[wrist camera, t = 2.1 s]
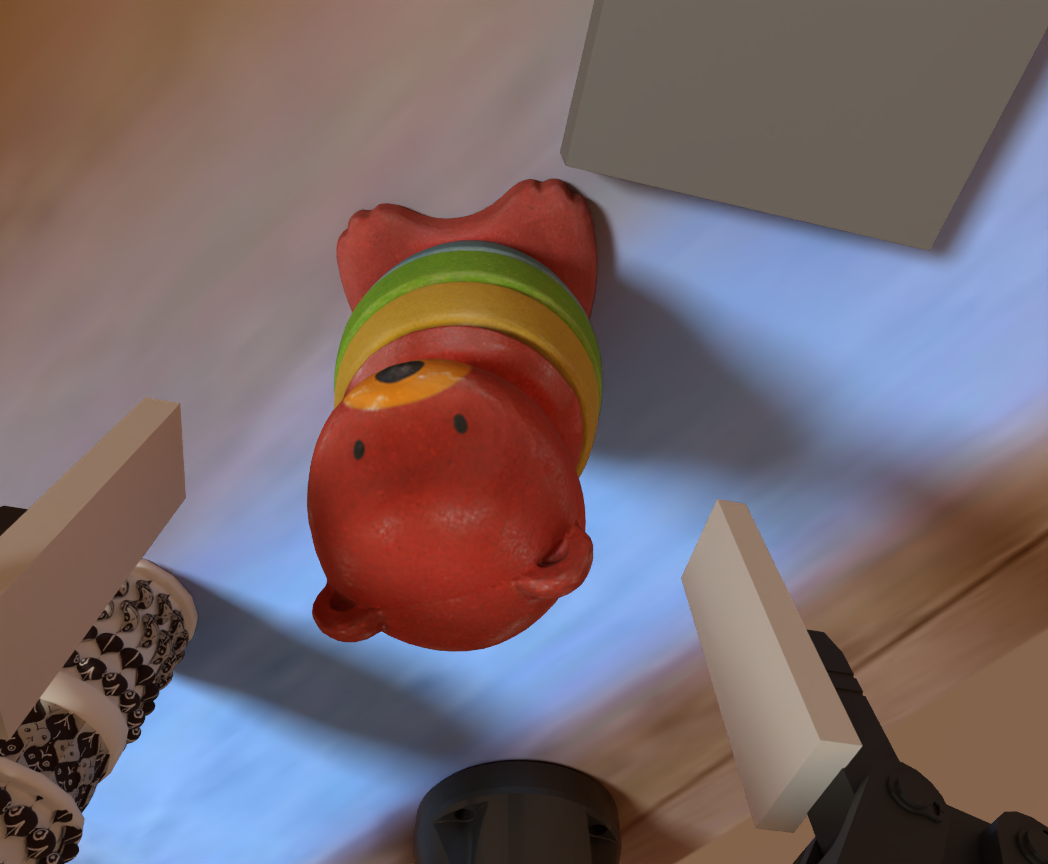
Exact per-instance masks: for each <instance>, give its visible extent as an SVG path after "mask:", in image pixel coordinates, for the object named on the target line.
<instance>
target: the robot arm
mask: <svg viewBox="0 0 1048 864" xmlns="http://www.w3.org/2000/svg"><path fill="white" fill-rule="evenodd" d="M185 498H186V493H185V476H184V460H183V444H182V428H181V412H180V403H174V402H169V401H163V400H157V399H152V398H146V397H145V398H144V399H143V400H142V401H141V402H140V403H139V404H138V405H137V406H136V407H135V408H134V409H133V410H132V411H131V412H130V413H129V414H127V415H126V416H125V417H124V418H123V419H122V420H121V421H120V422H119V423H118V424H117V425H116V426H115V427H114V428H113V429H112V430H111V431H110V432H109V433H108V434H107V435H106V436H104V437H103V438H102V439H101V440H100V441H99V442H98V443H97V444H96V445H95V446H94V447H93V448H92V449H91V450H90V451H89V452H88V453H87V454H86V455H85V456H84V457H83V458H82V459H80V460H79V461H78V462H77V463H76V464H75V465H74V466H73V467H72V468H71V469H70V470H69V471H68V472H67V473H66V474H65V475H64V476H63V477H62V478H61V479H60V480H59V481H57V482H56V483H55V484H54V485H53V486H52V487H51V488H50V489H49V490H48V491H47V492H46V493H45V494H44V495H43V496H42V497H41V498H40V499H39V500H38V501H37V502H36V503H34V504H33V505H32V506H31V507H30V508H29V509H22V508H15V507H9V506H2V507H0V739H4V740H10V738H11V737H12V736H13V734H14V733H15V731H16V730H17V729H18V727H19V726H20V725H21V723H22V722H23V720H24V719H25V718H26V716H27V715H28V714H29V712H30V711H31V709H32V708H33V707H34V705H35V704H36V703H37V701H38V700H39V698H40V697H41V696H42V694H43V693H44V692H45V690H46V689H47V687H48V686H49V685H50V683H51V682H52V681H53V679H54V678H55V676H56V675H57V674H58V672H59V671H60V670H61V668H62V667H63V666H64V664H65V663H66V661H67V660H68V659H69V657H70V656H71V655H72V653H73V652H74V650H75V649H76V648H77V646H78V645H79V644H80V642H81V641H82V639H83V638H84V637H85V635H86V634H87V633H88V631H89V630H90V628H91V627H92V626H93V624H94V623H95V622H96V620H97V619H98V617H99V616H100V615H101V613H102V612H103V611H104V609H105V608H106V606H107V605H108V604H109V602H110V601H111V600H112V598H113V597H114V596H115V594H116V593H117V591H118V590H119V589H120V587H121V586H122V585H123V583H124V582H125V580H126V579H127V578H128V576H129V575H130V574H131V572H132V571H133V569H134V568H135V567H136V565H137V564H138V563H139V561H140V560H141V558H142V557H143V556H144V554H145V553H146V552H147V550H148V549H149V547H150V546H151V545H152V543H153V542H154V541H155V539H156V538H157V536H158V535H159V534H160V532H161V531H162V530H163V528H164V527H165V526H166V524H167V523H168V521H169V520H170V519H171V517H172V516H173V515H174V513H175V512H176V510H177V509H178V508H179V506H180V505H181V504H182V502H183V501H184V499H185ZM681 579H682V583H683V586H684V589H685V593H686V596H687V599H688V603H689V606H690V610H691V613H692V616H693V620H694V623H695V626H696V630H697V633H698V636H699V640H700V643H701V647H702V650H703V653H704V657H705V660H706V663H707V667H708V670H709V674H710V677H711V680H712V684H713V687H714V690H715V694H716V697H717V700H718V704H719V707H720V711H721V714H722V717H723V721H724V724H725V727H726V731H727V734H728V737H729V741H730V744H731V748H732V751H733V754H734V758H735V761H736V764H737V768H738V771H739V774H740V778H741V781H742V785H743V788H744V791H745V795H746V798H747V801H748V805H749V808H750V811H751V815H752V818H753V821H754V825H755V828H757V829H765V830H774V831H783V832H791V833H794V832H795V830H796V829H797V828H798V827H799V825H800V824H801V823H802V822H803V820H804V819H805V817H806V816H807V815H808V817H809V820H810V822H811V825H812V828H813V831H814V833H815V838H814V839H813V840H812V841H811V842H810V844H809V845H808V846H807V847H806V848H805V850H804V851H803V852H802V853H801V854H800V856H799V857H798V858H797V859H796V860H795V862H794V863H793V864H1048V827H1046V826H1045V825H1043V824H1042V823H1040V822H1038V821H1037V820H1035V819H1034V818H1032V817H1030V816H1027V815H1024V814H1022V813H1019V812H1004V813H1003V814H1002V815H1001V816H999V817H998V818H997V819H996V820H995V821H994V822H993V823H992V824H990V823H988V822H985V821H983V820H981V819H978V818H976V817H974V816H972V815H969V814H967V813H965V812H962V811H960V810H958V809H955V808H953V807H951V806H949V805H947V804H946V803H945V801H944V799H943V797H942V796H941V794H940V793H939V792H938V790H937V789H936V788H935V787H934V785H933V784H932V783H931V782H930V781H929V780H928V779H927V778H925V777H924V776H923V775H922V774H921V773H919V772H918V771H917V770H915V769H913V768H912V767H910V766H908V765H906V764H904V763H902V762H900V761H899V759H898V758H897V756H896V754H895V752H894V750H893V748H892V746H891V744H890V742H889V740H888V738H887V737H886V735H885V733H884V731H883V729H882V727H881V725H880V723H879V721H878V719H877V717H876V716H875V714H874V712H873V710H872V708H871V706H870V704H869V702H868V700H867V698H866V696H863V691H862V689H861V687H860V685H859V683H858V681H857V679H856V678H854V677H853V675H854V674H853V672H852V670H851V668H850V666H849V664H848V662H847V660H846V658H845V656H844V654H843V653H842V651H841V650H840V649H839V648H838V647H837V646H836V645H835V644H834V643H833V642H832V641H831V640H830V638H829V637H828V636H827V635H826V634H825V633H824V632H819V631H813V630H806V628H805V626H804V624H803V622H802V619H801V617H800V615H799V613H798V611H797V609H796V607H795V605H794V603H793V601H792V599H791V597H790V595H789V593H788V590H787V588H786V586H785V584H784V582H783V580H782V578H781V576H780V574H779V572H778V570H777V568H776V566H775V564H774V562H773V559H772V557H771V555H770V553H769V551H768V549H767V547H766V545H765V543H764V541H763V539H762V537H761V535H760V533H759V530H758V528H757V526H756V524H755V522H754V520H753V518H752V516H751V514H750V512H749V510H748V508H747V506H746V504H743V503H737V502H731V501H726V500H720V499H717V501H716V503H715V505H714V507H713V510H712V512H711V514H710V516H709V518H708V520H707V523H706V525H705V527H704V529H703V531H702V534H701V536H700V538H699V540H698V542H697V544H696V547H695V549H694V551H693V553H692V555H691V557H690V560H689V562H688V564H687V566H686V568H685V571H684V573H683V575H682V577H681ZM413 850H414V858H415V864H619V861H620V855H621V834H620V827H619V819H618V812H617V808H616V805H615V803H614V801H613V799H612V798H611V796H610V795H609V794H608V792H607V791H606V790H605V789H604V788H603V787H601V786H600V785H599V784H598V783H596V782H595V781H593V780H592V779H590V778H588V777H587V776H585V775H583V774H580V773H578V772H576V771H573V770H570V769H567V768H564V767H560V766H556V765H551V764H546V763H538V762H525V761H512V762H498V763H491V764H485V765H481V766H476V767H473V768H469V769H466V770H463V771H461V772H458V773H456V774H454V775H452V776H450V777H448V778H446V779H444V780H443V781H441V782H440V783H438V784H437V785H436V786H434V787H433V788H432V789H431V790H430V791H429V792H428V793H427V794H426V795H425V797H424V798H423V800H422V801H421V803H420V805H419V808H418V811H417V818H416V825H415V833H414V841H413Z"/></svg>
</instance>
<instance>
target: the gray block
mask: <svg viewBox="0 0 1048 864" xmlns="http://www.w3.org/2000/svg"><path fill="white" fill-rule="evenodd" d="M1047 28H1048V0H595V1H594V5H593V10H592V14H591V18H590V23H589V27H588V32H587V36H586V40H585V45H584V49H583V54H582V58H581V62H580V67H579V71H578V76H577V80H576V84H575V89H574V93H573V98H572V102H571V106H570V111H569V115H568V119H567V124H566V128H565V133H564V137H563V141H562V146H561V150H560V153H561V156H562V158H563V160H564V163H565V165H566V166H569V167H573V168H578V169H582V170H586V171H590V172H595V173H599V174H603V175H608V176H612V177H616V178H620V179H625V180H629V181H633V182H637V183H642V184H646V185H650V186H655V187H659V188H663V189H667V190H672V191H676V192H680V193H685V194H689V195H693V196H697V197H702V198H706V199H710V200H714V201H719V202H723V203H727V204H732V205H736V206H740V207H744V208H749V209H753V210H757V211H761V212H766V213H770V214H774V215H779V216H783V217H787V218H791V219H796V220H800V221H804V222H809V223H813V224H817V225H821V226H826V227H830V228H834V229H838V230H843V231H847V232H851V233H856V234H860V235H864V236H868V237H873V238H877V239H881V240H886V241H890V242H894V243H898V244H903V245H907V246H911V247H915V248H920V249H924V250H928V251H930V249H931V247H932V245H933V243H934V242H935V240H936V238H937V236H938V234H939V232H940V230H941V228H942V226H943V224H944V223H945V221H946V219H947V217H948V215H949V213H950V211H951V209H952V207H953V206H954V204H955V202H956V200H957V198H958V196H959V194H960V192H961V190H962V189H963V187H964V185H965V183H966V181H967V179H968V177H969V175H970V173H971V171H972V170H973V168H974V166H975V164H976V162H977V160H978V158H979V156H980V154H981V153H982V151H983V149H984V147H985V145H986V143H987V141H988V139H989V137H990V136H991V134H992V132H993V130H994V128H995V126H996V124H997V122H998V120H999V118H1000V117H1001V115H1002V113H1003V111H1004V109H1005V107H1006V105H1007V103H1008V101H1009V100H1010V98H1011V96H1012V94H1013V92H1014V90H1015V88H1016V86H1017V84H1018V83H1019V81H1020V79H1021V77H1022V75H1023V73H1024V71H1025V69H1026V67H1027V66H1028V64H1029V62H1030V60H1031V58H1032V56H1033V54H1034V52H1035V50H1036V48H1037V47H1038V45H1039V43H1040V41H1041V39H1042V37H1043V35H1044V33H1045V31H1046V30H1047Z"/></svg>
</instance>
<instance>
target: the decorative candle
mask: <svg viewBox="0 0 1048 864" xmlns="http://www.w3.org/2000/svg"><path fill="white" fill-rule="evenodd" d="M197 620H198V614H197V611H196V608H195V604H194V601H193V598H192V596H191V595H190V593H189V592H188V591H187V590H186V589H185V588H184V587H183V586H182V584H181V583H180V582H179V581H178V580H177V579H176V578H175V577H174V576H173V575H171V574H170V573H168V572H166V571H165V570H163V569H161V568H160V567H158V566H156V565H155V564H153V563H151V562H150V561H148V560H146V559H142V558H141V560H140V561H139V563H138V564H137V565H136V567H135V568H134V569H133V571H132V572H131V574H130V575H129V576H128V578H127V579H126V580H125V582H124V583H123V585H122V586H121V587H120V589H119V590H118V591H117V593H116V594H115V596H114V597H113V598H112V600H111V601H110V602H109V604H108V605H107V606H106V608H105V609H104V611H103V612H102V613H101V615H100V616H99V617H98V619H97V620H96V622H95V623H94V624H93V626H92V627H91V628H90V630H89V631H88V633H87V634H86V635H85V637H84V638H83V639H82V641H81V642H80V644H79V645H78V646H77V648H76V649H75V650H74V652H73V653H72V655H71V656H70V657H69V659H68V660H67V661H66V663H65V664H64V666H63V667H62V668H61V670H60V671H59V672H58V674H57V675H56V676H55V678H54V679H53V681H52V682H51V683H50V685H49V686H48V687H47V689H46V690H45V692H44V693H43V694H42V696H41V697H40V698H39V700H38V701H37V703H36V704H35V705H34V707H33V708H32V709H31V711H30V712H29V714H28V715H27V716H26V718H25V719H24V720H23V722H22V723H21V725H20V726H19V727H18V729H17V730H16V731H15V733H14V734H13V736H12V737H11V738H10V740H4V739H0V864H65V863H66V862H69V861H71V860H72V859H74V858H75V857H76V855H77V854H78V853H79V847H78V843H79V841H80V840H81V837H82V831H83V825H84V817H83V815H82V812H83V811H84V809H85V808H86V807H87V805H88V804H89V802H90V800H91V798H92V796H93V794H94V792H95V789H96V786H97V784H98V783H99V782H101V781H102V780H103V779H104V778H105V777H106V776H108V775H109V774H110V773H111V771H112V770H113V768H114V766H115V764H116V763H117V761H118V759H119V757H120V755H121V754H122V752H123V751H124V749H125V748H126V746H127V744H128V743H132V742H134V741H136V740H137V739H138V738H139V736H140V734H141V729H140V726H141V725H142V724H143V723H144V720H145V716H146V715H149V714H150V713H152V712H153V710H154V709H155V703H154V702H153V701H154V700H155V699H156V698H157V697H158V695H159V691H160V690H162V689H163V688H165V687H166V686H167V685H168V684H169V683H170V681H171V680H172V677H173V670H174V668H175V666H176V665H177V664H178V663H179V662H180V661H181V660H182V659H183V657H184V655H185V650H184V649H185V648H186V646H187V644H188V642H189V641H190V640H191V639H192V637H193V636H194V632H195V628H196V624H197Z"/></svg>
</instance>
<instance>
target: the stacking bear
mask: <svg viewBox="0 0 1048 864" xmlns="http://www.w3.org/2000/svg"><path fill="white" fill-rule="evenodd" d="M337 263H338V267H339V272H340V277H341V281H342V284H343V288H344V291H345V294H346V297H347V300H348V302H349V305H350V308H351V310H352V312H353V313H352V315H351V317H350V319H349V320H348V322H347V325H346V327H345V330H344V333H343V336H342V339H341V342H340V346H339V350H338V355H337V360H336V367H335V377H334V392H335V401H334V410H333V411H332V413H331V415H330V416H329V418H328V419H327V421H326V423H325V425H324V427H323V429H322V431H321V433H320V436H319V438H318V440H317V443H316V446H315V449H314V453H313V457H312V461H311V466H310V473H309V481H308V493H307V510H308V519H309V525H310V529H311V533H312V539H313V543H314V547H315V551H316V553H317V556H318V559H319V561H320V564H321V566H322V569H323V571H324V573H325V575H326V577H327V584H326V586H325V587H324V589H323V590H322V591H321V592H320V593H319V595H318V596H317V598H316V600H315V602H314V604H313V610H312V615H313V618H314V620H315V622H316V624H317V626H318V627H319V629H320V630H321V631H322V632H323V633H324V634H326V635H328V636H329V637H331V638H333V639H336V640H338V641H342V642H358V641H362V640H365V639H368V638H370V637H372V636H374V635H376V634H377V633H379V632H381V631H382V632H384V633H386V634H387V635H389V636H391V637H394V638H396V639H398V640H401V641H403V642H406V643H408V644H412V645H416V646H419V647H423V648H427V649H433V650H439V651H471V650H478V649H484V648H487V647H491V646H494V645H497V644H500V643H502V642H504V641H506V640H508V639H510V638H512V637H514V636H516V635H518V634H519V633H521V632H523V631H524V630H526V629H527V628H529V627H530V626H531V625H532V624H534V623H535V622H536V621H537V620H538V619H540V618H541V617H542V616H543V615H544V614H545V613H546V612H547V611H548V610H549V609H550V608H551V607H552V606H553V604H554V603H555V602H556V601H557V600H558V598H560V597H562V596H565V595H567V594H569V593H571V592H572V591H574V590H575V589H577V588H578V587H579V586H580V585H581V584H582V583H583V582H584V580H585V579H586V577H587V575H588V573H589V571H590V568H591V565H592V561H593V544H592V541H591V538H590V537H589V536H588V535H587V534H586V532H585V524H586V520H585V505H584V498H583V493H582V489H581V485H580V481H579V477H580V475H581V474H582V472H583V470H584V468H585V466H586V463H587V461H588V458H589V455H590V452H591V449H592V446H593V443H594V439H595V434H596V429H597V423H598V418H599V414H600V409H601V402H602V366H601V357H600V352H599V347H598V343H597V340H596V337H595V334H594V331H593V328H592V326H591V323H590V321H589V319H590V316H591V312H592V307H593V303H594V298H595V292H596V282H597V245H596V236H595V230H594V223H593V219H592V215H591V211H590V208H589V206H588V203H587V202H586V200H585V198H584V197H583V196H581V195H580V194H577V193H571V192H570V191H569V189H568V187H567V185H566V183H565V182H564V181H562V180H559V179H548V180H546V181H544V182H539V181H537V180H534V179H528V180H524V181H521V182H519V183H517V184H516V185H515V186H513V187H512V188H511V189H510V190H509V191H508V192H506V193H505V194H504V195H503V196H502V197H501V198H500V199H498V200H497V201H496V202H495V203H494V204H492V205H490V206H489V207H487V208H485V209H484V210H482V211H479V212H477V213H475V214H473V215H469V216H465V217H459V218H449V219H443V218H433V217H428V216H424V215H422V214H419V213H416V212H414V211H411V210H409V209H407V208H404V207H402V206H399V205H394V204H387V203H385V204H380V205H378V206H377V207H376V208H375V209H373V210H359V211H357V212H356V213H355V214H354V215H353V216H352V217H351V218H350V220H349V223H348V229H346V230H345V231H344V232H343V233H342V234H341V236H340V237H339V239H338V243H337Z"/></svg>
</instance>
